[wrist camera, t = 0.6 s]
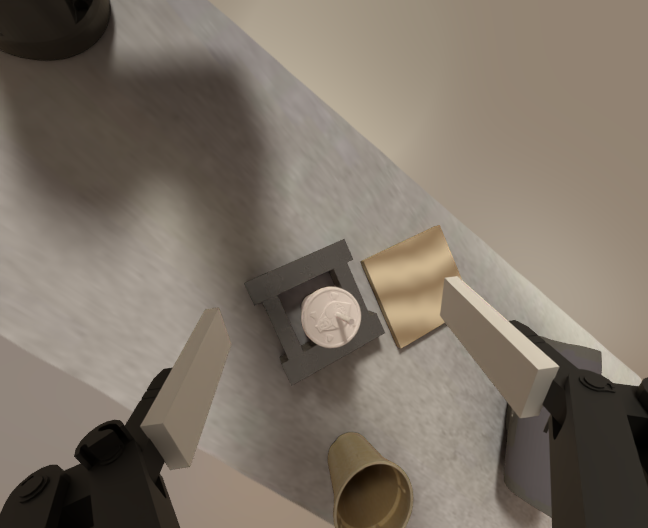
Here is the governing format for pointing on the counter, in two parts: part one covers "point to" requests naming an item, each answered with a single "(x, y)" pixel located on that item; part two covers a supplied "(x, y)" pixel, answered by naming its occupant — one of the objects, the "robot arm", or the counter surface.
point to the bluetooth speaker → (538, 438)
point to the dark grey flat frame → (266, 290)
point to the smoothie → (330, 317)
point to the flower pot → (367, 486)
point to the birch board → (411, 283)
